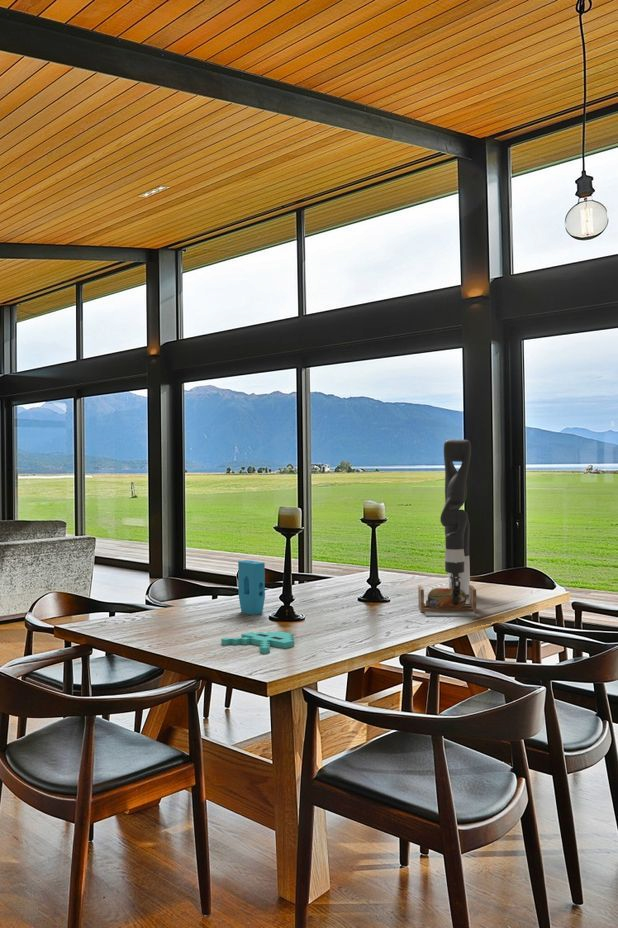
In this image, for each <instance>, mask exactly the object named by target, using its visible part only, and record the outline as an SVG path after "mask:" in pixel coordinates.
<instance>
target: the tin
mask: <svg viewBox="0 0 618 928" xmlns="http://www.w3.org/2000/svg"><path fill="white" fill-rule="evenodd" d="M455 591H457V590H455ZM458 596H459V604H458V605H453V595H452V589H451V588H449V587H436V588H432V589H431V590H429V592H428V594H427V599H426V600H428V603H429V605H430V606H431V607H432V608H462V607H463V606H464V605H465V603H467V595H465V593H464V592H463V591H462V590H461V589H460V595H458Z"/></svg>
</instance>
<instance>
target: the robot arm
mask: <svg viewBox="0 0 618 928" xmlns="http://www.w3.org/2000/svg"><path fill="white" fill-rule="evenodd" d="M471 455H472V444H471V442H470V440H468V439H456V438H455V439H453V438H451V439H450V438H449V439H446V440H445V441H444V444H443V461H444V502H445V503H444V507H443V509H442V511H441V513H440V518H439V521H440V523H441V525H442V526H443V527H444V536H445V538H444V539H445V544H444V546H445V551H444V572H445V573H448V588H451V589H452V595H453V605H458V604H459V596H458V595H460V589H461V590H462V591H463V592H464V593H465V595H466V596H469V585H471V580H470V579H471V578H470V577H471V575H470V574H471V573H470V572H471V571H470V568H471V566H470V563H471V562H470V536H471V533H470V532H471V530H470V529H471V526H470V525H471V524H470V521H469V515H468V513H467V511H466V510H465V509H461V508H462V506H464V504H465V502H466V500H467V497H468V496H467V495H468V486H467V479H468V474H469V467H470V462H471ZM454 462H458V463H461V464H460V467H459V468H458V469H456V467H455V464H454ZM455 590H457V591H455Z"/></svg>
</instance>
